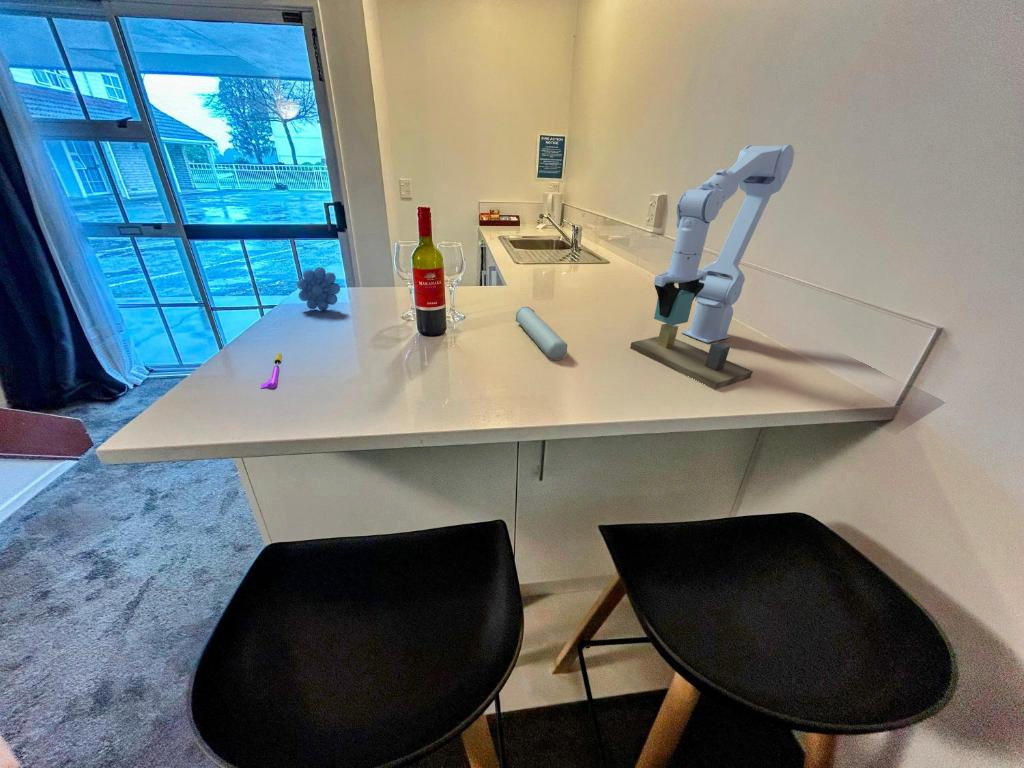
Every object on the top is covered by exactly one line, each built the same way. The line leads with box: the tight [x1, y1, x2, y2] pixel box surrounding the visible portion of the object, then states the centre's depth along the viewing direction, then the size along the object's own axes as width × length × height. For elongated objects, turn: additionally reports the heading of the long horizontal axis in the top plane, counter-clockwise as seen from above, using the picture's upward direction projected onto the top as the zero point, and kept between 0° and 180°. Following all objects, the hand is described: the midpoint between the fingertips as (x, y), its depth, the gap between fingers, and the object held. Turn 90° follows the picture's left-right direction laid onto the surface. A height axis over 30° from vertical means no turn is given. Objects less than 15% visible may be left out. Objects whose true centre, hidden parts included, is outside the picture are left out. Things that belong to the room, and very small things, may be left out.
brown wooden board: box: [629, 335, 754, 391], centre depth 90 cm, size 12×23×2 cm, turn 30°
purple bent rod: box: [260, 352, 282, 390], centre depth 79 cm, size 3×1×16 cm
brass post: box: [657, 323, 679, 348], centre depth 93 cm, size 3×3×5 cm
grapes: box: [296, 266, 341, 312], centre depth 109 cm, size 12×7×12 cm, turn 90°
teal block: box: [653, 290, 695, 326], centre depth 90 cm, size 5×5×7 cm
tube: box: [515, 306, 568, 361], centre depth 97 cm, size 5×5×25 cm
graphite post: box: [705, 341, 731, 371], centre depth 83 cm, size 3×3×5 cm
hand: (672, 314), depth 91 cm, fingers closed on teal block, 5 cm apart
